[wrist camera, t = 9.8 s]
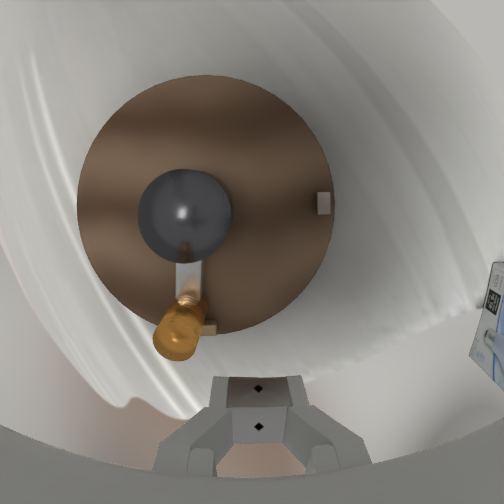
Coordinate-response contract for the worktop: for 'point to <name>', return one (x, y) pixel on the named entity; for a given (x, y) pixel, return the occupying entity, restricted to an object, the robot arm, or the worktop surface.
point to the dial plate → (236, 180)
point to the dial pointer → (184, 247)
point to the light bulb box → (492, 329)
